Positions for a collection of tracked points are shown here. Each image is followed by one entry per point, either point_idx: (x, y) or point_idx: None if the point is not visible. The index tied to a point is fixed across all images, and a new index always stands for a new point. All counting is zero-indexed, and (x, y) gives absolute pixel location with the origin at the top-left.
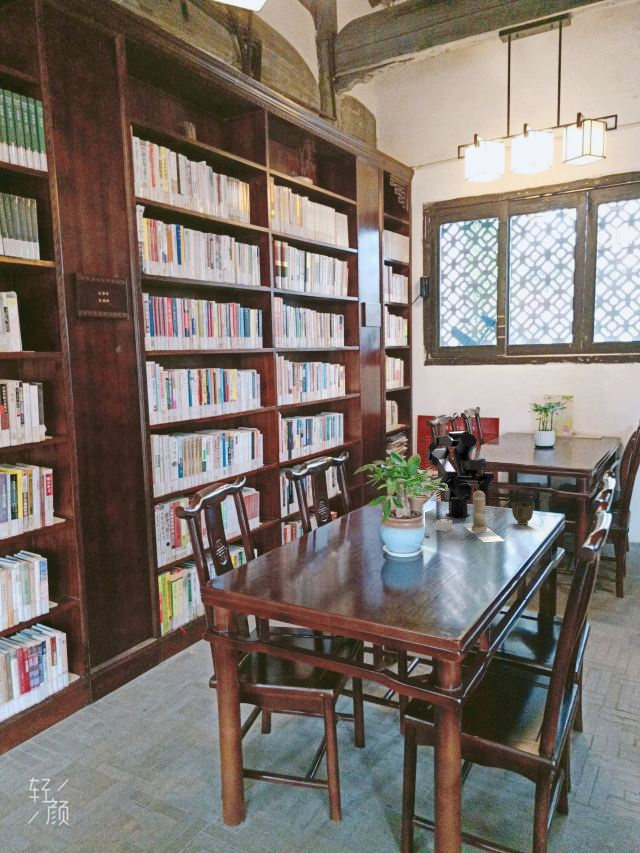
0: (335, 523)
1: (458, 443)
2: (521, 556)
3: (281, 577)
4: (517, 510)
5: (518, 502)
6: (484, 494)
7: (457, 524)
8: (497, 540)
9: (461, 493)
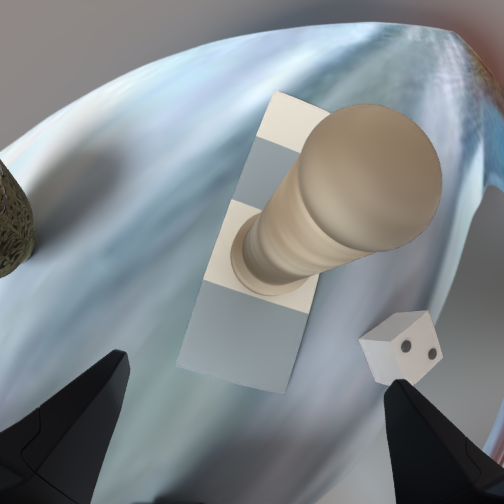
0: None
1: None
2: (300, 35)
3: None
4: (15, 195)
5: None
6: (343, 108)
7: (269, 433)
8: (297, 105)
9: (428, 415)
